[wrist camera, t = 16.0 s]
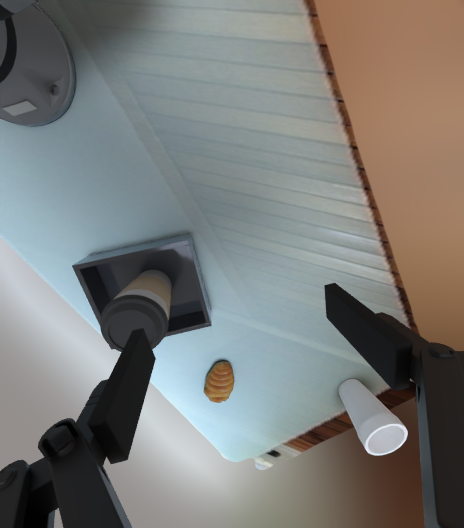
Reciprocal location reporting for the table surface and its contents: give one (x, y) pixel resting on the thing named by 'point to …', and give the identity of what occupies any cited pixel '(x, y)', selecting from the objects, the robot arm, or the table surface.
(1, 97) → the robot arm
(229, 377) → the pastry
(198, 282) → the dark grey open box
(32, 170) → the table surface
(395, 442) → the foam cup
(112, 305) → the coffee cup
